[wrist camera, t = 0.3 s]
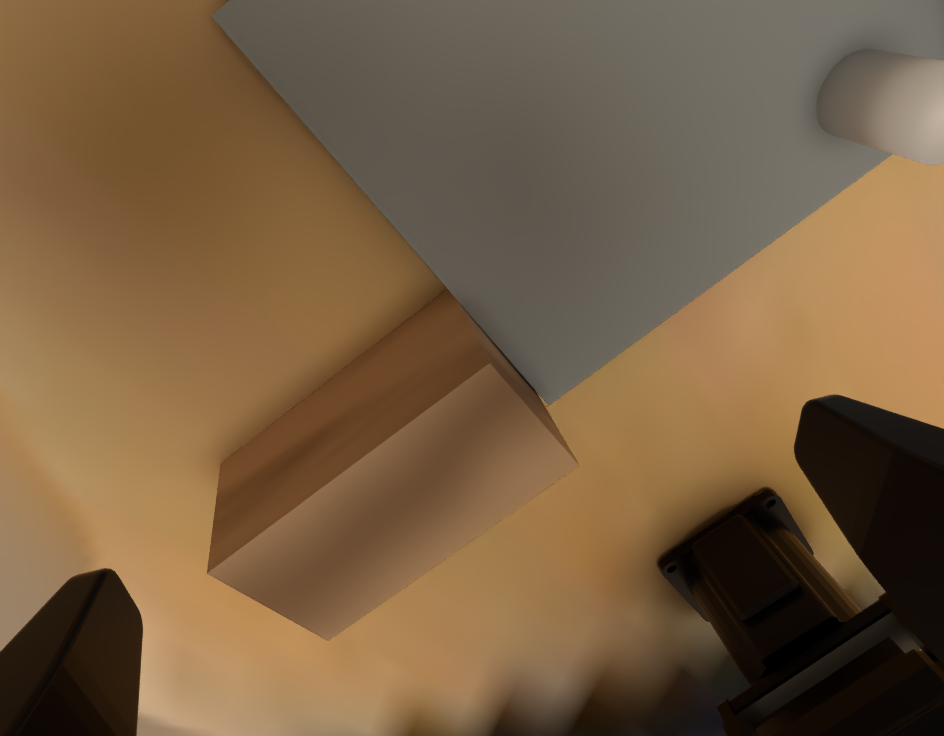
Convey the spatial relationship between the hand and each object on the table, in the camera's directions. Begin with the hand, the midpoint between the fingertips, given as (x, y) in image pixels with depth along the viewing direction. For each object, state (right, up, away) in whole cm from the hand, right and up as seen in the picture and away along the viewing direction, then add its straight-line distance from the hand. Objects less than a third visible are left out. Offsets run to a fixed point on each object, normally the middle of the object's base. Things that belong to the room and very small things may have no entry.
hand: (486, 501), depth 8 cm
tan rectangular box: (-3, 0, +15) cm, 15 cm away
